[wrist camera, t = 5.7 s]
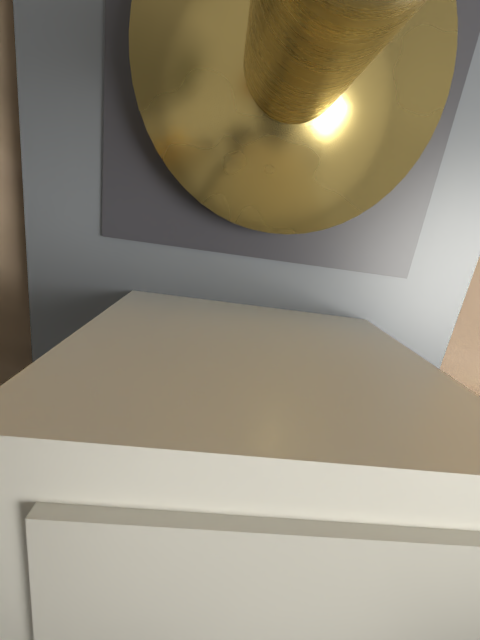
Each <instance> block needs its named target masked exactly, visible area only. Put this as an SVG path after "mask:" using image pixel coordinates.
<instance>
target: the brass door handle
mask: <svg viewBox="0 0 480 640" xmlns="http://www.w3.org/2000/svg"><path fill="white" fill-rule="evenodd" d="M457 35H458V16H457V4H456V0H132V2H131V11H130V22H129V60H130V68H131V75H132V83H133V87H134V91H135V96H136V100H137V104H138V108H139V111H140V113H141V116H142V119H143V122H144V124H145V127H146V130H147V132H148V134H149V136H150V138H151V140H152V142H153V144H154V146H155V148H156V150H157V152H158V154H159V155H160V157H161V158H162V160H163V161H164V163H165V164H166V166H167V168H168V169H169V171H170V172H171V173H172V174H173V175H174V177H175V178H176V179H177V180H178V181H179V183H180V184H181V185H182V186H183V187H184V188H185V189H186V190H187V191H188V192H189V193H190V194H191V195H192V196H193V197H194V198H196V199H197V200H198V201H199V202H200V203H201V204H202V205H204V206H205V207H207V208H208V209H209V210H211V211H212V212H214V213H215V214H217V215H218V216H220V217H222V218H224V219H226V220H228V221H230V222H232V223H234V224H237V225H240V226H242V227H245V228H248V229H252V230H257V231H261V232H266V233H275V234H303V233H310V232H315V231H320V230H324V229H327V228H330V227H333V226H336V225H339V224H342V223H344V222H346V221H348V220H350V219H352V218H354V217H356V216H358V215H360V214H362V213H363V212H365V211H366V210H368V209H369V208H371V207H372V206H374V205H375V204H377V203H378V202H379V201H380V200H381V199H383V198H384V197H385V196H386V195H387V194H389V193H390V192H391V191H392V190H393V189H394V188H395V187H396V186H397V185H398V184H399V183H400V182H401V181H402V179H403V178H404V177H405V176H406V175H407V174H408V172H409V171H410V170H411V168H412V167H413V166H414V165H415V163H416V162H417V161H418V159H419V158H420V156H421V154H422V153H423V151H424V149H425V148H426V146H427V144H428V143H429V141H430V139H431V137H432V135H433V133H434V131H435V129H436V127H437V125H438V122H439V120H440V118H441V115H442V112H443V109H444V106H445V104H446V101H447V98H448V95H449V90H450V86H451V82H452V78H453V73H454V68H455V60H456V52H457Z"/></svg>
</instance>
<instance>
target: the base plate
mask: <svg viewBox="0 0 480 640" xmlns="http://www.w3.org/2000/svg"><path fill="white" fill-rule="evenodd" d="M131 2H132V0H13V11H14V30H15V49H16V67H17V86H18V104H19V123H20V141H21V160H22V178H23V197H24V216H25V234H26V253H27V271H28V290H29V308H30V327H31V345H32V363H33V362H34V361H36V360H37V359H38V358H40V357H41V356H42V355H44V354H45V353H47V352H48V351H49V350H51V349H52V348H54V347H55V346H56V345H58V344H59V343H60V342H62V341H63V340H65V339H66V338H67V337H69V336H70V335H72V334H73V333H74V332H76V331H77V330H78V329H80V328H81V327H83V326H84V325H85V324H87V323H88V322H90V321H91V320H92V319H94V318H95V317H96V316H98V315H99V314H101V313H102V312H103V311H105V310H106V309H108V308H109V307H110V306H112V305H113V304H114V303H116V302H117V301H119V300H120V299H121V298H123V297H124V296H126V295H127V294H128V293H130V292H131V291H132V290H134V291H142V292H150V293H158V294H166V295H174V296H181V297H189V298H197V299H205V300H213V301H221V302H229V303H237V304H245V305H253V306H261V307H269V308H277V309H285V310H293V311H301V312H309V313H317V314H325V315H333V316H341V317H349V318H357V319H365V320H367V321H369V322H370V323H372V324H373V325H375V326H376V327H378V328H379V329H381V330H382V331H384V332H385V333H386V334H388V335H389V336H391V337H392V338H394V339H395V340H397V341H398V342H400V343H401V344H403V345H404V346H406V347H407V348H409V349H410V350H412V351H413V352H415V353H416V354H418V355H419V356H421V357H422V358H424V359H425V360H427V361H428V362H430V363H431V364H433V365H434V366H435V367H437V368H438V369H440V366H441V363H442V360H443V357H444V355H445V352H446V349H447V346H448V343H449V340H450V338H451V335H452V332H453V329H454V326H455V323H456V321H457V318H458V315H459V312H460V309H461V307H462V304H463V301H464V298H465V295H466V292H467V290H468V287H469V284H470V281H471V278H472V276H473V273H474V270H475V267H476V264H477V261H478V259H479V256H480V0H456V4H457V16H458V35H457V52H456V60H455V68H454V73H453V78H452V82H451V86H450V90H449V95H448V98H447V101H446V104H445V106H444V109H443V112H442V115H441V118H440V120H439V122H438V125H437V127H436V129H435V131H434V133H433V135H432V137H431V139H430V141H429V143H428V144H427V146H426V148H425V149H424V151H423V153H422V154H421V156H420V158H419V159H418V161H417V162H416V163H415V165H414V166H413V167H412V168H411V170H410V171H409V172H408V174H407V175H406V176H405V177H404V178H403V179H402V181H401V182H400V183H399V184H398V185H397V186H396V187H395V188H394V189H393V190H392V191H391V192H390V193H389V194H387V195H386V196H385V197H384V198H383V199H381V200H380V201H379V202H378V203H377V204H375V205H374V206H372V207H371V208H369V209H368V210H366V211H365V212H363V213H362V214H360V215H358V216H356V217H354V218H352V219H350V220H348V221H346V222H344V223H342V224H339V225H336V226H333V227H330V228H327V229H324V230H320V231H315V232H310V233H303V234H275V233H266V232H261V231H257V230H252V229H248V228H245V227H242V226H240V225H237V224H234V223H232V222H230V221H228V220H226V219H224V218H222V217H220V216H218V215H217V214H215V213H214V212H212V211H211V210H209V209H208V208H207V207H205V206H204V205H202V204H201V203H200V202H199V201H198V200H197V199H196V198H194V197H193V196H192V195H191V194H190V193H189V192H188V191H187V190H186V189H185V188H184V187H183V186H182V185H181V184H180V183H179V181H178V180H177V179H176V178H175V177H174V175H173V174H172V173H171V172H170V171H169V169H168V168H167V166H166V164H165V163H164V161H163V160H162V158H161V157H160V155H159V154H158V152H157V150H156V148H155V146H154V144H153V142H152V140H151V138H150V136H149V134H148V132H147V130H146V127H145V124H144V122H143V119H142V116H141V113H140V111H139V108H138V104H137V100H136V96H135V91H134V87H133V83H132V75H131V68H130V60H129V22H130V11H131Z"/></svg>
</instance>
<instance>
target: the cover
mask: <svg viewBox="0 0 480 640" xmlns="http://www.w3.org/2000/svg"><path fill="white" fill-rule="evenodd" d="M0 640H480V396H479V395H477V394H476V393H474V392H473V391H471V390H470V389H468V388H467V387H465V386H464V385H462V384H461V383H459V382H458V381H456V380H455V379H453V378H452V377H450V376H449V375H447V374H446V373H444V372H443V371H441V370H440V369H438V368H437V367H435V366H434V365H433V364H431V363H430V362H428V361H427V360H425V359H424V358H422V357H421V356H419V355H418V354H416V353H415V352H413V351H412V350H410V349H409V348H407V347H406V346H404V345H403V344H401V343H400V342H398V341H397V340H395V339H394V338H392V337H391V336H389V335H388V334H386V333H385V332H384V331H382V330H381V329H379V328H378V327H376V326H375V325H373V324H372V323H370V322H369V321H367V320H365V319H357V318H349V317H341V316H333V315H325V314H317V313H309V312H301V311H293V310H285V309H277V308H269V307H261V306H253V305H245V304H237V303H229V302H221V301H213V300H205V299H197V298H189V297H181V296H174V295H166V294H158V293H150V292H142V291H134V290H132V291H131V292H130V293H128V294H127V295H126V296H124V297H123V298H121V299H120V300H119V301H117V302H116V303H114V304H113V305H112V306H110V307H109V308H108V309H106V310H105V311H103V312H102V313H101V314H99V315H98V316H96V317H95V318H94V319H92V320H91V321H90V322H88V323H87V324H85V325H84V326H83V327H81V328H80V329H78V330H77V331H76V332H74V333H73V334H72V335H70V336H69V337H67V338H66V339H65V340H63V341H62V342H60V343H59V344H58V345H56V346H55V347H54V348H52V349H51V350H49V351H48V352H47V353H45V354H44V355H42V356H41V357H40V358H38V359H37V360H36V361H34V362H33V363H31V364H30V365H29V366H27V367H26V368H24V369H23V370H22V371H20V372H19V373H18V374H16V375H15V376H13V377H12V378H11V379H9V380H8V381H6V382H5V383H4V384H2V385H1V386H0Z"/></svg>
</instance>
